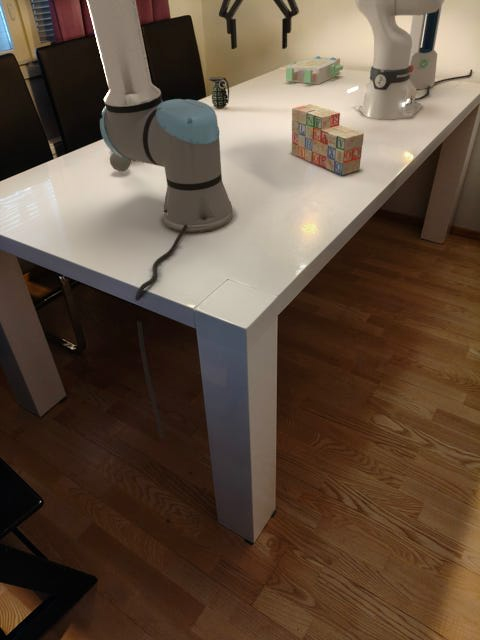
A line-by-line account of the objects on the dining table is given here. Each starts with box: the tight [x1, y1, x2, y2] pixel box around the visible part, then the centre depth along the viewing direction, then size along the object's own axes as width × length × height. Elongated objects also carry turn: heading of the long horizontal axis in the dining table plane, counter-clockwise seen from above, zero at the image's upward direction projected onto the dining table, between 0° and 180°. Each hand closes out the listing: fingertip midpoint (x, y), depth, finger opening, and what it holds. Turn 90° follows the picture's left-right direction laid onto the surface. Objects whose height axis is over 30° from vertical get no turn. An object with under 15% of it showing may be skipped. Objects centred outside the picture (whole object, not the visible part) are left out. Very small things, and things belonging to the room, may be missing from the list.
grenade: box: [208, 76, 230, 110], centre depth 174 cm, size 7×6×10 cm
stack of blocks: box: [291, 103, 365, 176], centre depth 127 cm, size 21×6×12 cm, turn 32°
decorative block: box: [285, 55, 344, 85], centre depth 205 cm, size 26×6×20 cm
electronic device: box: [409, 4, 443, 90], centre depth 178 cm, size 12×8×30 cm, turn 105°
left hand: (259, 48), depth 127 cm, fingers open, 13 cm apart
